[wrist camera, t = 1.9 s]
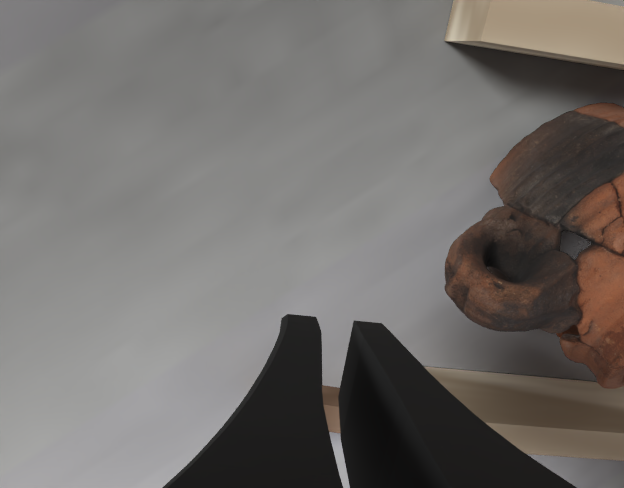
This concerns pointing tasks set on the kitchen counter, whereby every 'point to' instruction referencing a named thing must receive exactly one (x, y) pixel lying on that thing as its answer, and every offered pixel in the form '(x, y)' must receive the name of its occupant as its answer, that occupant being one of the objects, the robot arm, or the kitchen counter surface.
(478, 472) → the robot arm
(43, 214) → the kitchen counter surface
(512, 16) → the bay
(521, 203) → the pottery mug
